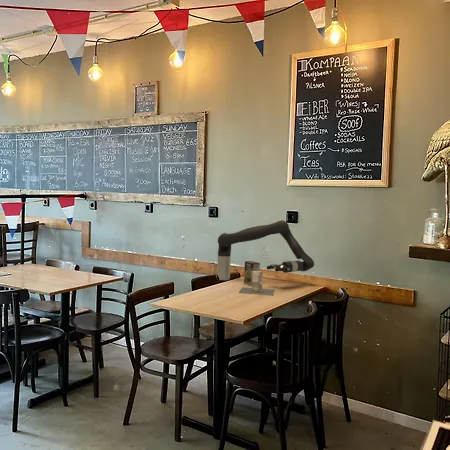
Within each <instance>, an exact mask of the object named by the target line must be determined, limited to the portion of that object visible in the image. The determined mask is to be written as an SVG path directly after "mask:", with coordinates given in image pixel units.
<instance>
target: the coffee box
mask: <svg viewBox="0 0 450 450" xmlns="http://www.w3.org/2000/svg"><path fill="white" fill-rule="evenodd" d="M260 267H261V263H260V262H257V261H254V260H253V261H252V260H246V261H244V278H243V284H244V285H247V286H251V287H252V278H253V271H261V270H260Z"/></svg>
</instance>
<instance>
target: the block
mask: <svg viewBox="0 0 450 450" xmlns="http://www.w3.org/2000/svg"><path fill="white" fill-rule="evenodd" d="M263 273H264V272H263V271H261V270H260V271H253V278H252V286H251V288H252V291H254V292H262V289H263V277H264V276H263V275H264V274H263Z"/></svg>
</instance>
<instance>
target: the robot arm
mask: <svg viewBox="0 0 450 450" xmlns="http://www.w3.org/2000/svg"><path fill="white" fill-rule="evenodd" d="M276 234H279V235H280V236H282V237H283V239H284V241H286V243H287V245H288V246H289V248H290V250H291V252H292V253H293V255H294V257H295V258H296V259H297V260H287V261H283V262H282V263H281V264H280V263H279V264H278V263H274V264H269V265H266V270H274V271H275V272H276V273H277V272H283V273H284V274H288V273H294V272H308V271H309V270H310V269H313V268H314V266H315V262H314V259H313V258H312V257H310V256H309V255H308V253H306V252H305V250H304V249H303V247H302V246H301V245H300V243H299V242H298V240H297V239H296V238H295V237H294V235H293V233H292V232H291V230H290V226H289V223H288V222H287V221H286V220H278V221H276V222H273V223H268V224H264V225H257V226H252V227H247V228H245V229H242V230H239V231H236V232H233V233H232V232H231V233H226V232H223V233H221V234H220V235H219V236H218V237H217V243H218V251H217V266H216V276H217V275H218V277H219V280H218V281H229V280H230V279H231V253H232V245H234V244H238V243H246V242H250V241H251V242H252V241H255V240H256V241H257V240H259V239H262V238H265V237H268V236H270V235H271V236H272V235H276ZM301 260H302V261H301Z"/></svg>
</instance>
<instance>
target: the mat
mask: <svg viewBox="0 0 450 450" xmlns="http://www.w3.org/2000/svg"><path fill="white" fill-rule="evenodd" d="M275 290H276V289H271V288H270V289H269V288H262V292H254V291H252V287H247V286H246V287H241V288H240V290H239V291H238V294H247V295H261V296H274V293H275Z"/></svg>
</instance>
